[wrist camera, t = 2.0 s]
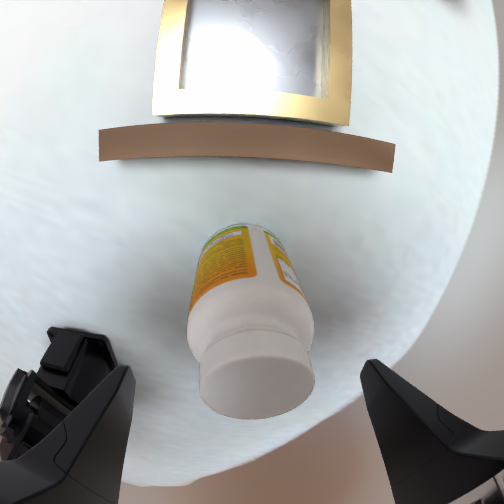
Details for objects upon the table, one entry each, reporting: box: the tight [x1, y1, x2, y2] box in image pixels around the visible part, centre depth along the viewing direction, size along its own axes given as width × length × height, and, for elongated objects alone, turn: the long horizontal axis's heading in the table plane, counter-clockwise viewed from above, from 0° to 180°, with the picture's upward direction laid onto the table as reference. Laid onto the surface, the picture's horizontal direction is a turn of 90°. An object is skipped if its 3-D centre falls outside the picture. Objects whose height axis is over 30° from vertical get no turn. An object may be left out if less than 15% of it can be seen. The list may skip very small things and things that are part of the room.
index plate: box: [152, 0, 352, 126], centre depth 10 cm, size 10×10×2 cm
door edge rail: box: [99, 122, 395, 173], centre depth 13 cm, size 2×15×2 cm, turn 87°
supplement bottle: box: [187, 224, 315, 419], centre depth 13 cm, size 5×5×10 cm
